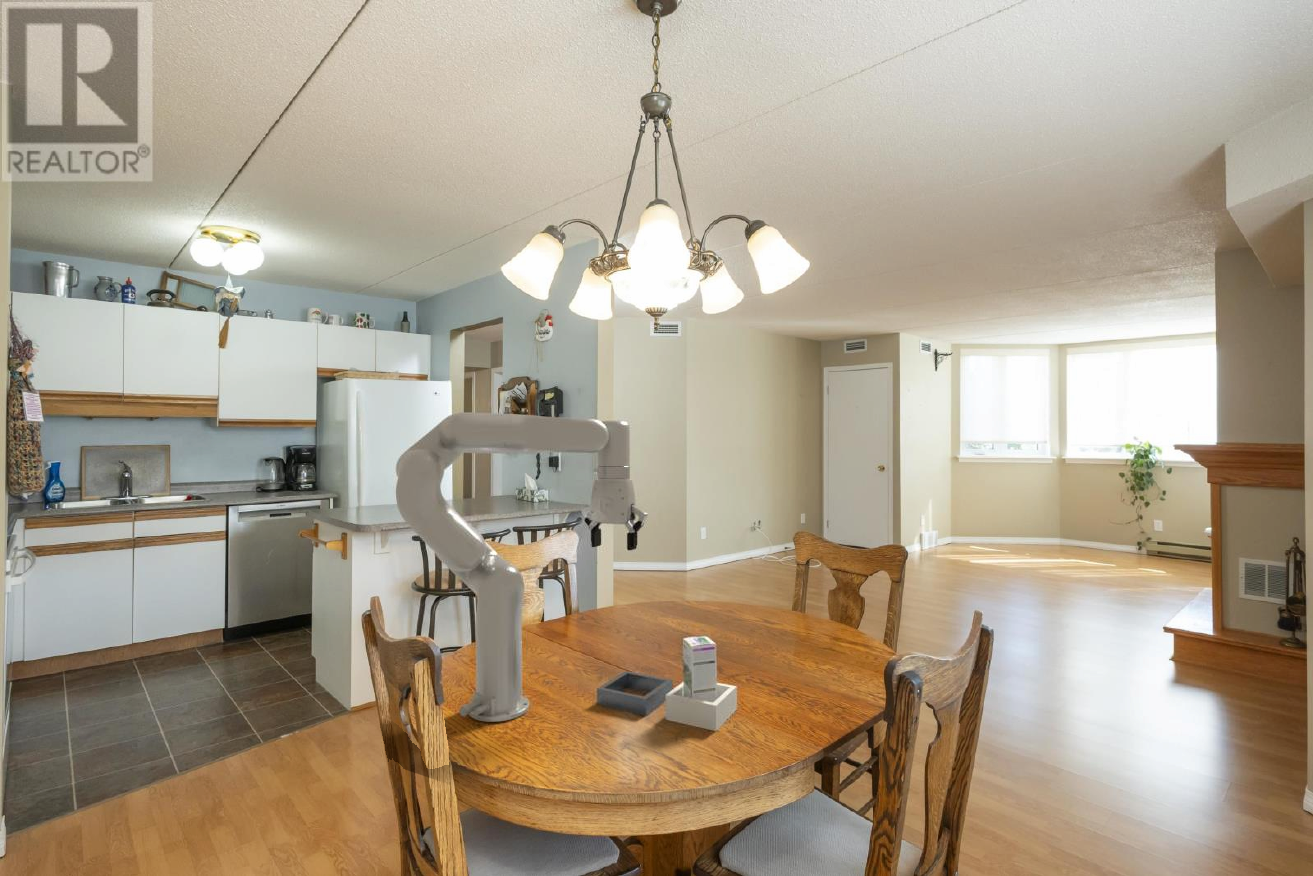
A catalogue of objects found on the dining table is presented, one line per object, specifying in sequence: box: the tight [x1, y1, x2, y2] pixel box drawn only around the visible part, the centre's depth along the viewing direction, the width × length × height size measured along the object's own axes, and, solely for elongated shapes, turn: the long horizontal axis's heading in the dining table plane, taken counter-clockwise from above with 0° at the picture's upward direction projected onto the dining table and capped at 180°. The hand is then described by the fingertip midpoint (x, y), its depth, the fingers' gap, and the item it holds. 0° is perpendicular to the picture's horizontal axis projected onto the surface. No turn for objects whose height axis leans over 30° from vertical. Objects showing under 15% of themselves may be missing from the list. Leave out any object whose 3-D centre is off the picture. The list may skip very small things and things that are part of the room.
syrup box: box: [682, 635, 718, 702], centre depth 134 cm, size 6×6×14 cm
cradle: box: [665, 681, 738, 732], centre depth 134 cm, size 11×11×5 cm
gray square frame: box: [596, 670, 674, 717], centre depth 142 cm, size 12×12×4 cm
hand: (613, 547), depth 149 cm, fingers open, 9 cm apart
